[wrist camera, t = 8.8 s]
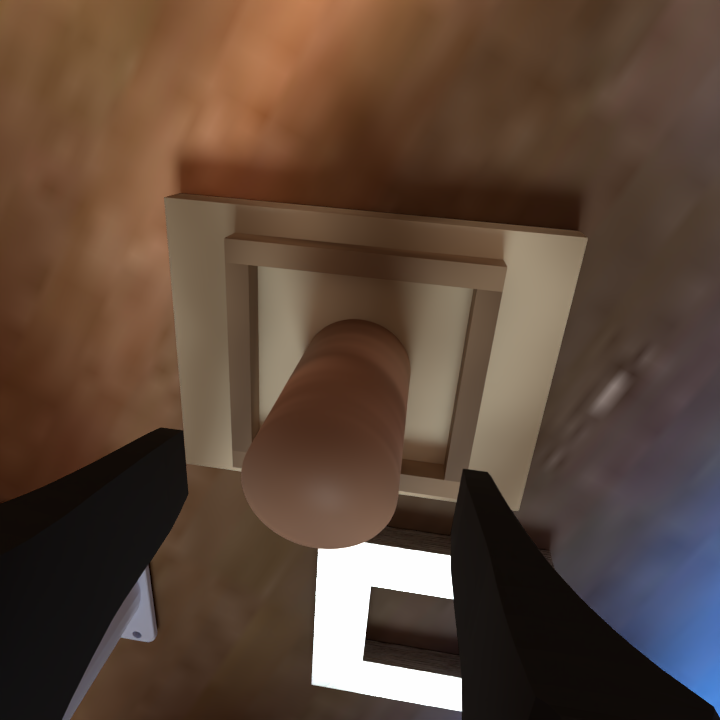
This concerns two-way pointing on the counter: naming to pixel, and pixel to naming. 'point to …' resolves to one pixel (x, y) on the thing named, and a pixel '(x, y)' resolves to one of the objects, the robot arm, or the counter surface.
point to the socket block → (350, 614)
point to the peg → (333, 440)
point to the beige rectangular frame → (376, 304)
